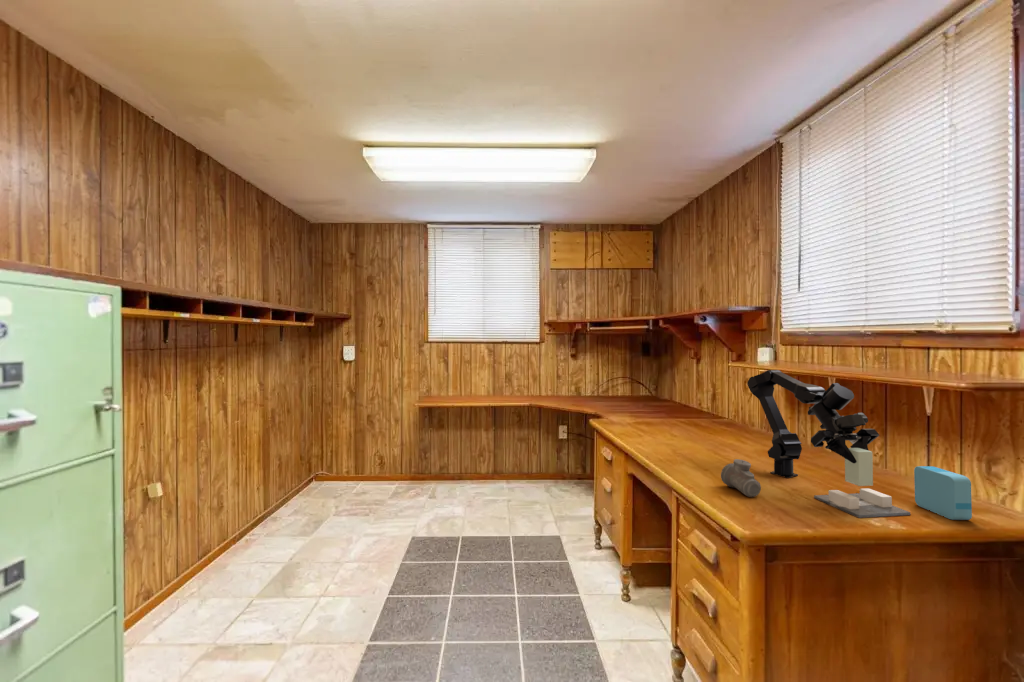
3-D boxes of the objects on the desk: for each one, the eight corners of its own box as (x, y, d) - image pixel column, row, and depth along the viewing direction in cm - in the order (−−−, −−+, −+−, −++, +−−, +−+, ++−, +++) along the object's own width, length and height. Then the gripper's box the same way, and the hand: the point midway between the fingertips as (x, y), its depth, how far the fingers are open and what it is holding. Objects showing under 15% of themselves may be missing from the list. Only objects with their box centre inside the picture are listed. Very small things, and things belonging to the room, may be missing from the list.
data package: (972, 522, 110) (971, 477, 111) (954, 521, 111) (953, 477, 111) (930, 504, 122) (929, 464, 123) (914, 504, 123) (913, 464, 123)
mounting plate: (858, 517, 114) (858, 514, 114) (814, 498, 129) (814, 495, 129) (910, 515, 115) (910, 512, 115) (860, 495, 130) (860, 493, 130)
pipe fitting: (718, 484, 141) (722, 455, 140) (740, 485, 142) (744, 457, 141) (739, 501, 129) (743, 470, 128) (763, 502, 130) (768, 471, 129)
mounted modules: (849, 509, 118) (849, 498, 118) (828, 500, 125) (828, 490, 125) (891, 506, 119) (891, 496, 119) (868, 498, 126) (868, 488, 126)
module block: (845, 481, 124) (844, 448, 124) (858, 480, 125) (858, 447, 125) (859, 486, 120) (858, 452, 120) (873, 485, 120) (872, 451, 120)
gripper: (817, 404, 125) (851, 449, 114) (872, 402, 127) (911, 447, 116) (797, 424, 133) (827, 468, 122) (850, 423, 135) (884, 466, 124)
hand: (862, 462), depth 121 cm, fingers closed on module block, 4 cm apart
